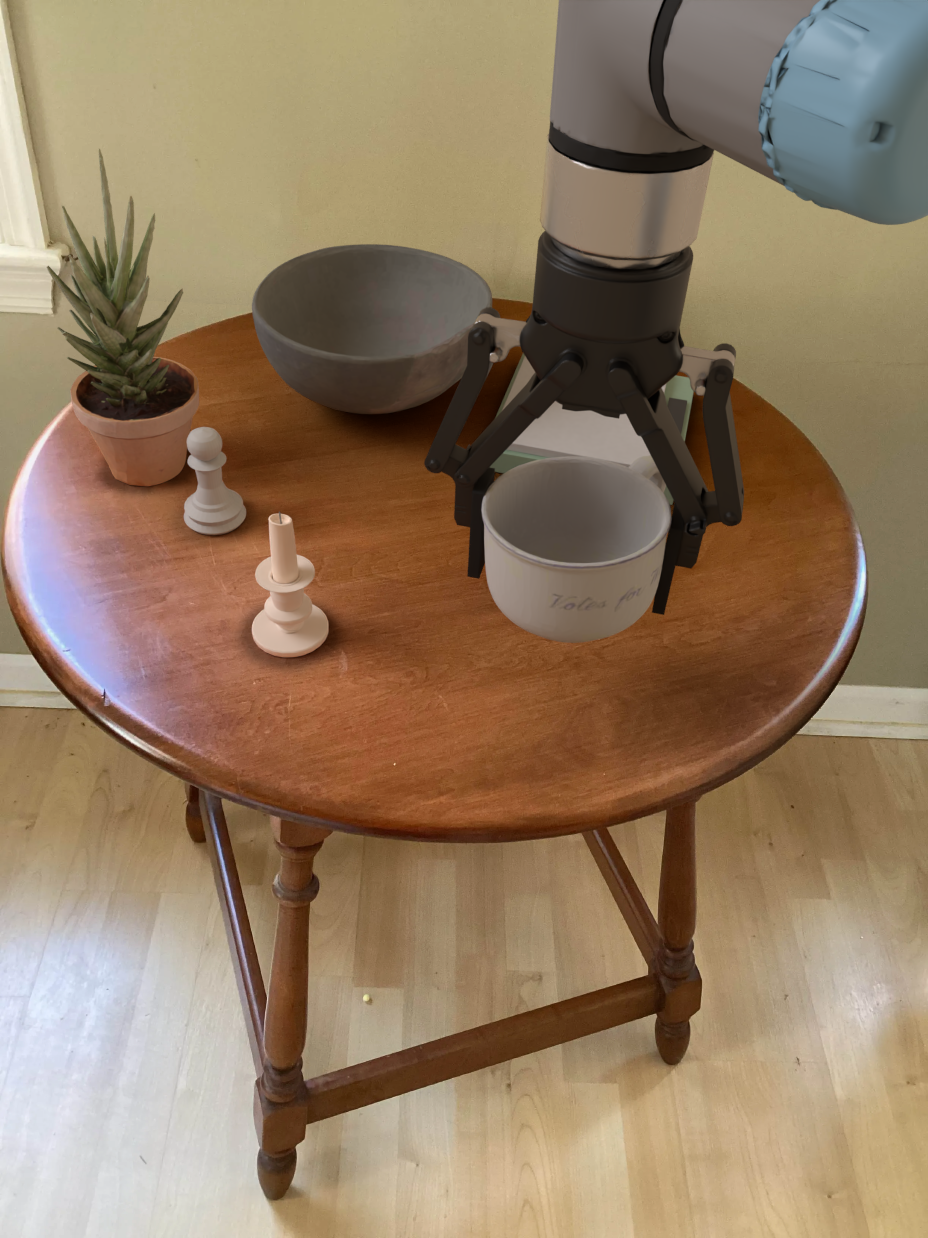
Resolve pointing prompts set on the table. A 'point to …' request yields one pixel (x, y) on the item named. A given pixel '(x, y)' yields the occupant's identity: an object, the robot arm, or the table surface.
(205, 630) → the table surface
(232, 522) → the chess piece
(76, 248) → the potted plant
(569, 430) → the scale
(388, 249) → the bowl
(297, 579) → the candle
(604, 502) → the teacup
